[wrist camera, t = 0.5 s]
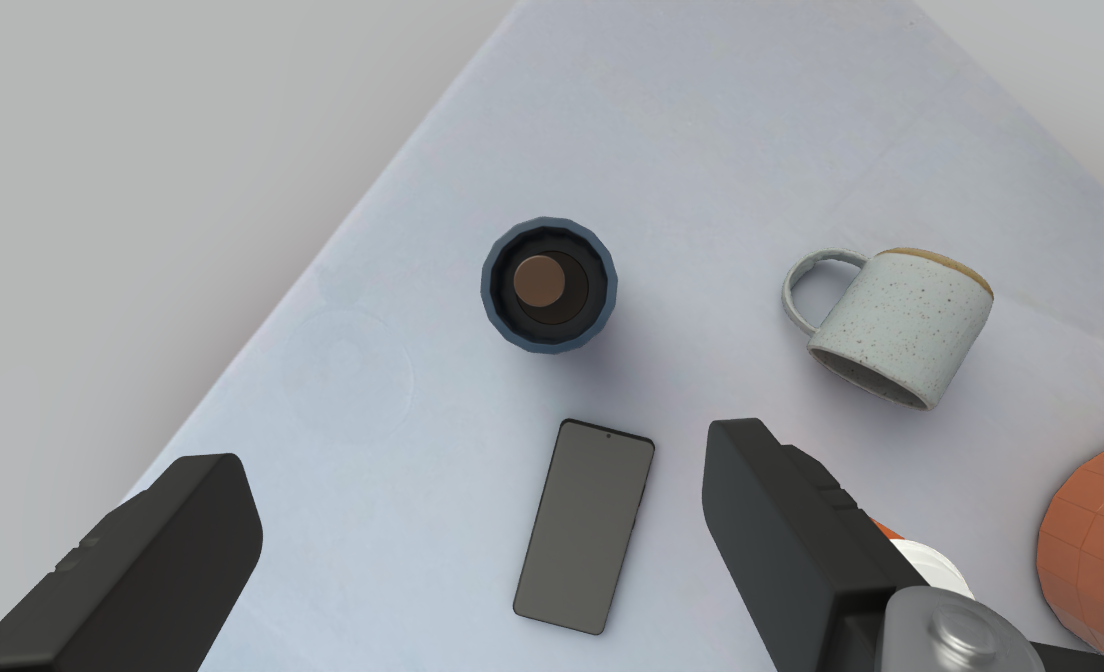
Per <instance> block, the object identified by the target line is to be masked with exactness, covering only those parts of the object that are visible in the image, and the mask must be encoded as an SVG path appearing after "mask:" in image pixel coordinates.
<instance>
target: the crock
mask: <svg viewBox="0 0 1104 672" xmlns="http://www.w3.org/2000/svg"><path fill="white" fill-rule="evenodd" d="M544 251H560V252H563V253H566V254H568V255H570V256H572V257H573V258H575V259H576V260H577V261H578V262H579V263H580V264H581V266H582V267H583V268H584V270H585V272H586V275H587V278H588V283H589V293H588V298H587V301H586V303H585V305H584V307H583V308H582V310H581V311H580V312H579V313H578V314H577V315H576V316H575V317H574V318H572V319H571V320H569V321H567V322H565V323H562V324H556V325H547V324H542V323H539V322H537V321H535V320H533V319H531V318H530V317H529V316H527V315H526V314H525V313H524V311H523V310H522V309H521V307H520V305H519V304H518V301H517V298H516V294H515V286H514V275H515V272H516V270H517V268H518V266H519V265H520V264H521V263H522V262H523V261H524V260H526V259H527V258H529V257H532V256H534V255H536V254H538V253H540V252H544ZM617 283H618V279H617V274H616V271H615V268H614V264H613V261H612V258H611V254H610V252H609V251H608V250H607V248H606V247H605V246H604V245H603V244H602V242H601V241H600V240H599V239H598V237H597V236H596V235H595V234H594V233H593V232H592V231H590V230H589V229H587V228H585V227H583V226H581V225H579V224H577V223H575V222H574V221H572V220H570V219H569V220H568V219H564V218H553V217H538V218H535V219H532V220H529V221H526V222H522V223H519V224H516V225H515V226H513V227H512V228H511V229H510V230H509V231H508V232H506V233H505V234H504V235H503V236H502V237H500V238H499V239H498V240H497V241H496V242H495V243H494V245H493V247H492V249H491V251H490V253H489V255H488V257H487V259H486V261H485V263H484V264H483V267H482V278H481V291H480V293H481V297H482V301H483V304H484V307H485V310H486V313H487V316H488V319H489V320H490V322H491V323H492V324H493V325H494V326H495V328H496V329H497V330H498V331H499V332H500V334H501V335H502V336H503V337H504V338H505V339H506V340H507V341H509V342H511V343H513V344H515V345H517V346H518V347H520V348H522V349H524V350H526V351H528V352H532V353H543V354H553V355H555V354H560V353H563V352H567V351H570V350H573V349H576V348H580V347H581V346H583V345H585V344H586V343H587V342H588V341H589V340H591V339H592V338H593V337H594V336H595V335H597V334H598V333H599V332H600V331H601V330H602V329H603V328H604V326H605V324H606V322H607V320H608V318H609V317H610V315H611V313H612V311H613V309H614V307H615V303H616V293H617Z"/></svg>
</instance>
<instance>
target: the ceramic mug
mask: <svg viewBox="0 0 1104 672" xmlns="http://www.w3.org/2000/svg"><path fill="white" fill-rule="evenodd" d="M827 259H835V260H838V261H844V262H847V263H851V264H853V265H856V266H858V267H860V268H861V271H860V272H859V274H858V275H857V277H856V278H854V280H853V282H852V283H851V285H850V286H849V287H848V288H847V290H846V292H845V294H844V295H843V297H842V298H841V299H840V301H839V302H838V303H837V304H836V306H835V307H834V308H833V309H832V310H831V312H830V313H829V314H828V316H827V317H826V319H825V320H824V322H823V323H822V324H821V326H820V327H819V328H815V327H812V326H811V325H810V324H808V323H807V321H806V320H805V319H804V318H803V317H802V316H801V315H800V314H799V313H798V311H797V310H796V308H795V307H794V304H793V301H792V298H791V296H792V295H791V292H790V290H791V288H792V287H793V286H794V285H795V284H796V282H797V281H798V280H799V279H800V277H801V276H802V275H803V274H804V273H805V272H806V271H808V270H810V269H812V268H813V267H814V265H815V262H817V261H819V260H827ZM993 300H994V297H993V292H992V290H991V288H990V286H989V284H988V283H987V282H986V280H984V279H983V278H982V277H981V276H980V275H979V274H977V273H976V272H975V271H973V270H972V269H970V268H968V267H966V266H965V265H963V264H961V263H959V262H956V261H954V260H952V259H950V258H947V257H945V256H942V255H939V254H936V253H932V252H929V251H925V250H920V249H914V248H894V249H890V250H886V251H883V252H881V253H879V254H877V255H876V256H875V257H873V258H870V259H869V258H866V257H865V256H864V255H861V254H859V253H857V252H854V251H850V250H847V249H840V248H826V249H822V250H818V251H815V252H812V253H810V254H808V255H806V256H804V257H803V258H802V259H800V260H799V261H798V262H797V263H796V264H795V265H794V266H793V267H792V269H791V270H790V271H789V272H788V274H787V276H786V278H785V280H784V283H783V289H782V302H783V305H784V308H785V311H786V313H787V314H788V316H789V317H790V319H791V320H792V321H793V322H794V323H795V324H796V325H797V326H798V327H799V328H800V329H801V330H802V331H803V332H804V333H806V334H807V335H809V336H810V337H811V340H810V341H809V343H808V346H807V350H808V351H809V353H810V354H811V355H812V356H813V357H814V358H815V359H816V360H817V361H818V362H820V363H821V364H823V365H824V366H826V367H827V368H828V369H829V370H831V371H832V372H834V373H835V374H837V375H839V376H840V377H842V378H844V379H845V380H847V381H849V382H851V383H852V384H854V385H856V386H858V387H860V388H862V389H864V390H866V391H868V392H870V393H872V394H874V395H876V396H878V397H880V398H882V399H885V400H888V401H891V402H893V403H895V404H899V405H902V406H904V407H908V408H911V409H916V410H920V411H930V410H932V409H933V408H934V407H935V406H937V404H938V402H939V400H940V398H941V397H942V395H943V393H944V391H945V390H946V388H947V386H948V385H949V383H950V382H951V380H952V378H953V377H954V375H955V373H956V372H957V370H958V368H959V367H960V365H961V363H962V361H963V359H964V358H965V356H966V354H967V353H968V351H969V349H970V347H971V346H972V344H973V343H974V341H975V340H976V338H977V337H978V335H979V333H980V332H981V330H982V329H983V327H984V325H985V323H986V321H987V319H988V316H989V313H990V310H991V307H992V304H993Z"/></svg>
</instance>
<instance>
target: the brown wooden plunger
mask: <svg viewBox="0 0 1104 672" xmlns="http://www.w3.org/2000/svg"><path fill="white" fill-rule="evenodd" d="M514 286H515V294H516V298H517V301H518V304H519V305H520V307H521V309H522V310H523V311H524V313H525V314H526V315H527V316H529V317H530V318H531V319H533V320H535V321H537V322H539V323H542V324H547V325H556V324H562V323H565V322H567V321H569V320H571V319H572V318H574V317H575V316H576V315H577V314H578V313H579V312H580V311H581V310H582V308H583V307H584V305H585V303H586V301H587V298H588V293H589V283H588V278H587V275H586V272H585V270H584V268H583V267H582V266H581V264H580V263H579V262H578V261H577V260H576V259H575V258H573V257H572V256H570V255H568V254H566V253H563V252H560V251H544V252H540V253H538V254H536V255H534V256H532V257H529V258H527V259H526V260H524V261H523V262H522V263H521V264H520V265H519V266H518V268H517V270H516V272H515V275H514Z"/></svg>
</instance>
